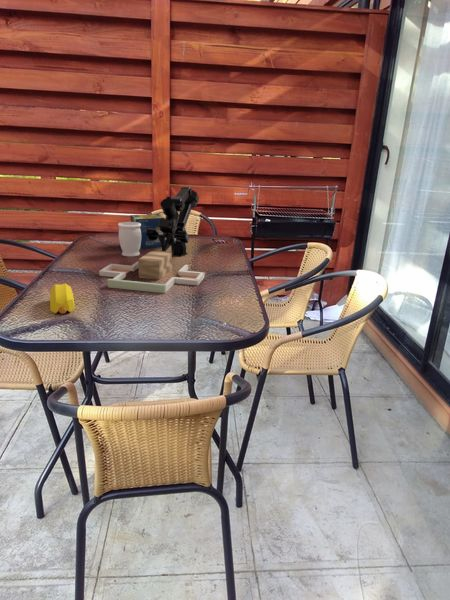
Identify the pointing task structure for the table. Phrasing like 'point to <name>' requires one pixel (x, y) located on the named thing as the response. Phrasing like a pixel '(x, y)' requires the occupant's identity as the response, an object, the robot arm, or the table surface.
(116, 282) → the white flat frame
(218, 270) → the table surface
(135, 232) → the jar
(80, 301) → the table surface
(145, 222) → the protein box
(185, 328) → the table surface
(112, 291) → the table surface
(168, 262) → the oak block
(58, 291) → the yellow arch block
